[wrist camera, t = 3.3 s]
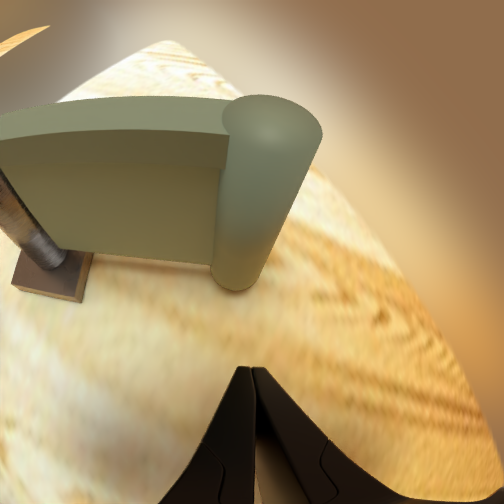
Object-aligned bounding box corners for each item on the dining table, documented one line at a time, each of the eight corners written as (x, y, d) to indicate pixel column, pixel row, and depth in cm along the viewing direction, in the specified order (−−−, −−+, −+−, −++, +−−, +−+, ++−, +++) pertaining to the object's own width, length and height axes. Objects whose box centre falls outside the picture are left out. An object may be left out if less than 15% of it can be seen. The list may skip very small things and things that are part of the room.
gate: (63, 270, 15) (-29, 155, 6) (76, 229, 16) (9, 104, 7) (259, 292, 16) (329, 163, 7) (260, 246, 18) (315, 104, 8)
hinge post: (19, 289, 15) (-99, 176, 3) (41, 220, 18) (-34, 87, 6) (81, 303, 16) (-53, 163, 4) (101, 225, 18) (36, 59, 7)
